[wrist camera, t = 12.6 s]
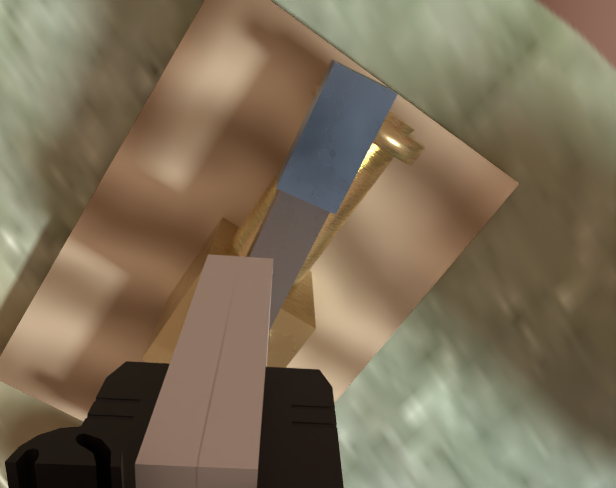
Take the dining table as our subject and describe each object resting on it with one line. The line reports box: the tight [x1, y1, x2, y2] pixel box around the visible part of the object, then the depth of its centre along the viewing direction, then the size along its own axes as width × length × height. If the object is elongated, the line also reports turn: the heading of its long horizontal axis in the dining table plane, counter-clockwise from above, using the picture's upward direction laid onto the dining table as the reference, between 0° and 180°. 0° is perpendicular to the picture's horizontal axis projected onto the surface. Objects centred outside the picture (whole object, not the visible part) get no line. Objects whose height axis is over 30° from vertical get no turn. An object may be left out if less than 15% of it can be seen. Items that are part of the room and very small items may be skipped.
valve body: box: [141, 73, 426, 368], centre depth 35 cm, size 30×7×8 cm, turn 145°
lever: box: [246, 59, 398, 330], centre depth 28 cm, size 18×4×2 cm, turn 155°
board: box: [0, 0, 519, 422], centre depth 39 cm, size 32×22×2 cm
